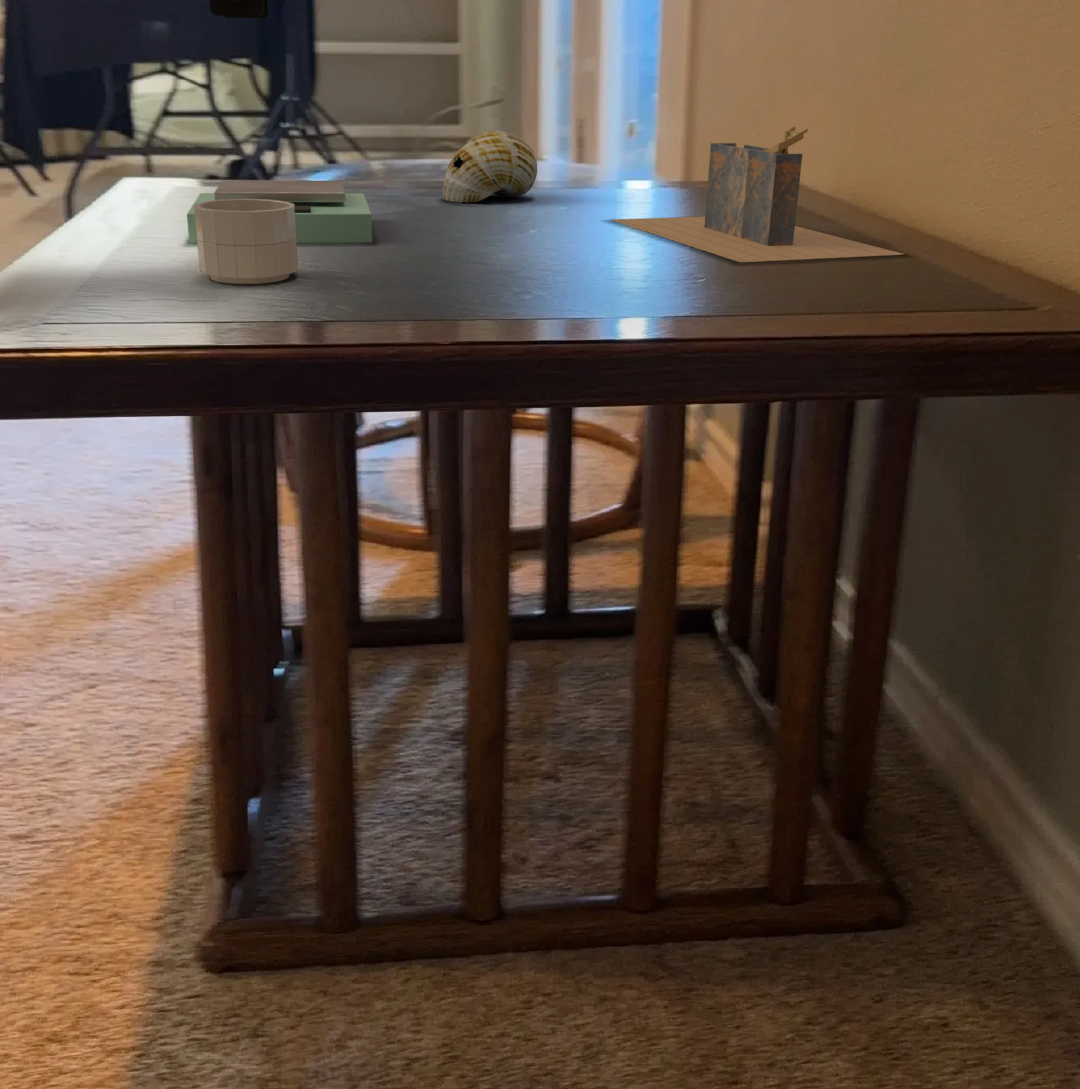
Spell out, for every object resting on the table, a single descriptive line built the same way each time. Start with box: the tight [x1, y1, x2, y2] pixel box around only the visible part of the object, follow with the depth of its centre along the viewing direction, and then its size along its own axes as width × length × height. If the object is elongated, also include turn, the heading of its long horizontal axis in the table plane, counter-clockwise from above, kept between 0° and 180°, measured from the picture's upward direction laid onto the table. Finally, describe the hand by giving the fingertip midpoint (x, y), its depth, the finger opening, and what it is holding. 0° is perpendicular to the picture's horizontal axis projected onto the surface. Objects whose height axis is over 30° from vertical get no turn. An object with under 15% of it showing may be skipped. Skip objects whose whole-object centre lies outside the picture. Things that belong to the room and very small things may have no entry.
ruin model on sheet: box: [612, 126, 905, 263], centre depth 106 cm, size 25×16×10 cm, turn 22°
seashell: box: [442, 130, 538, 204], centre depth 128 cm, size 10×10×10 cm
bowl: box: [194, 199, 299, 285], centre depth 83 cm, size 7×7×5 cm
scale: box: [186, 192, 373, 245], centre depth 104 cm, size 15×14×3 cm
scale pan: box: [213, 180, 346, 202], centre depth 105 cm, size 11×9×1 cm
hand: (241, 16), depth 77 cm, fingers open, 9 cm apart
